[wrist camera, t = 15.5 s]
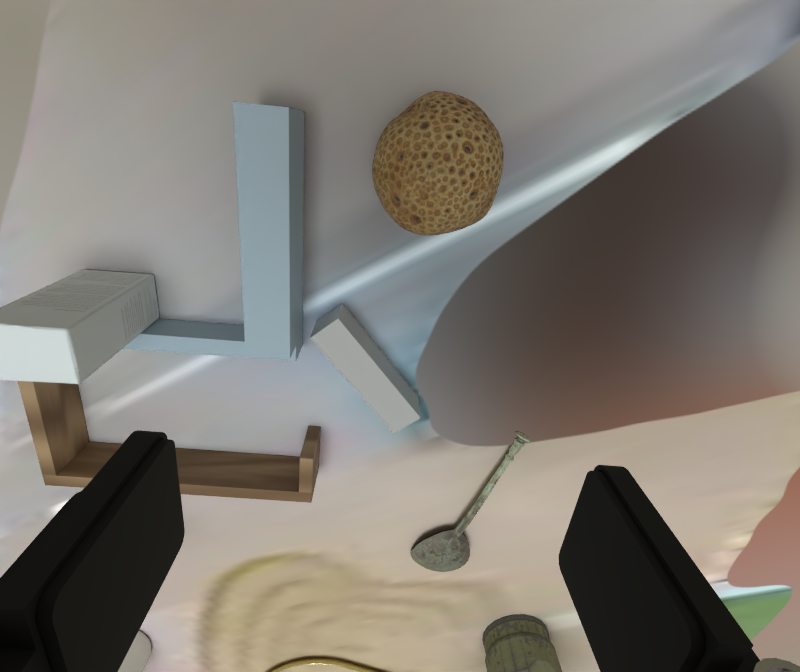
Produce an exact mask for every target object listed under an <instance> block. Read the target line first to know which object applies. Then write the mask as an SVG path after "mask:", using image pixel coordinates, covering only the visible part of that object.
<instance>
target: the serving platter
mask: <svg viewBox="0 0 800 672" xmlns="http://www.w3.org/2000/svg"><path fill="white" fill-rule="evenodd" d="M308 664H327V665H335V666H341V667H345V668H348V669H352V670H355V671H359V672H379V671H376V670H373V669H369V668H366V667H362V666H359V665H355V664H352V663H348V662H345V661H341V660H336V659H328V658H309V659H302V660H297V661H293V662H290V663H287V664H284V665H282V666H280V667H278V668H276V669H274V670H273V671H271V672H280V671H282V670H284V669H287V668H291V667H295V666H300V665H308Z"/></svg>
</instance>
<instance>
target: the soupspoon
mask: <svg viewBox="0 0 800 672" xmlns="http://www.w3.org/2000/svg"><path fill="white" fill-rule="evenodd" d="M515 433H516V435H517V438H515V439H514V443H513V444H512V446H511V447H510V449H509V453H508V454H506V455H505V459H504V460H503V462H502V463H501V465H500V466H499V468H498V469H497V471H496V472H495V473H494V475H493V476H492V478H491V479H490V481H489V482H488V484H487V485H486V487H485V488H484V489H483V491H482V492H481V494H480V496H479V497H478V499H477V500H476V502H475V503H474V505H473V506H472V507H471V509H470V510H469V511H468V513H467V514H466V515H465V517H464V518H463V519H462V521H461V522H460V523H459V524H458V526H457V527H456V528H455V529H454V530H449V531H444V532H441V533H438V534H435V535H433V536H431V537H429V538H427V539H425V540H423V541H422V542H420V543H418V544H417V545H416V546H415V548H414V549H413V550H412V551H411V556H412V558H413V560H414V561H415V562H417V563H418V564H419V565H421V566H423V567H425V568H427V569H430V570H433V571H439V572H447V571H453V570H456V569H458V568H460V567H462V566H463V565H465V564H466V562H467V561H468V559H469V556H470V549H469V545H468V542H467V540H466V538H465V537H464V535H463V534H462V533H463V532H464V530H465V529H466V527H467V526H468V525H469V524H470V522H471V521H472V519H473V518H474V516H475V515H476V514H477V512H478V510H479V509H480V508H481V506H482V505H483V503H484V501H485V500H486V498H487V497H488V495H489V493H490V492H491V490H492V489H493V487H494V485H495V484H496V482H497V481H498V479H499V478H500V476H501V475H502V473H503V472H504V470H505V469H506V467H507V465H508V464H509V462H510V461H513V460H514V455H515V454H517V453H518V451H519V450H520V449H521V447H522V446H524V441H529V442H530V441H531V440H530V438H529V437H527V436H526V435H524V434H523V433H521V432H519V431H515Z"/></svg>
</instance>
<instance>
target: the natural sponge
mask: <svg viewBox="0 0 800 672" xmlns="http://www.w3.org/2000/svg"><path fill="white" fill-rule="evenodd" d="M502 166H503V146H502V142H501V139H500V136H499V133H498V131H497V129H496V128H495V126H494V124H493V123H492V122H491V121H490V120H489V118H488V117H487V115H486V114H485V113H484V112H483V111H482V109H480V108H479V107H478V106H477V105H476V104H475V103H474V102H472V101H470V100H468V99H466V98H464V97H462V96H459V95H455V94H451V93H447V92H439V91H434V92H431V93H428V94H425V95H424V96H422V97H421V98H419V99H418V100H416V101H415V102H413V103H412V104H411V105H410V106H409V107H408V108H407V109H406V110H405V111H404V112H403V113H402V114H400V115H399V116H398V117H397V118H395V119H394V120H392V121H391V122H390V123H389V124H388V125H387V127H386V128H385V130H384V132H383V133H382V135H381V137H380V139H379V142H378V144H377V148H376V151H375V155H374V160H373V181H374V187H375V190H376V192H377V195H378V197H379V199H380V201H381V203H382V205H383V206H384V208H385V210H386V211H387V212H388V214H389V215H390V216H391V217H392V218H393V220H394V221H395V222H396V223H397V224H398V225H400V226H401V227H402V228H404V229H406V230H408V231H410V232H413V233H416V234H419V235H439V234H443V233H449V232H453V231H456V230H459V229H463V228H465V227H467V226H470V225H472V224H474V223H476V222H478V221H479V220H481V219H482V218H483V217H484V216H485V215H486V214H487V213H488V211H489V209H490V208H491V205H492V203H493V201H494V198H495V195H496V193H497V188H498V185H499V182H500V178H501V172H502Z"/></svg>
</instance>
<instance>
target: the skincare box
mask: <svg viewBox="0 0 800 672" xmlns="http://www.w3.org/2000/svg"><path fill="white" fill-rule="evenodd" d="M159 316H160V314H159V308H158V301H157V295H156V287H155V280H154V275H152V274H139V273H125V272H112V271H98V270H86V269H85V270H81V271H79V272H77V273H75V274H73V275H70V276H68V277H66V278H64V279H62V280H59V281H57V282H55V283H53V284H51V285H49V286H47V287H44V288H42V289H40V290H38V291H36V292H33V293H31V294H29V295H27V296H25V297H22V298H20V299H18V300H16V301H14V302H12V303H10V304H7V305H5V306H3V307H1V308H0V380H8V381H28V382H50V383H69V384H80V383H81V382H83V381H84V380H85V379H86V378H87V377H89V376H90V375H91V374H92V373H93V372H95V371H96V370H97V369H98V368H99V367H101V366H102V365H103V364H104V363H105V362H107V361H108V360H109V359H110V358H112V357H113V356H114V355H115V354H116V353H117V352H119V351H120V350H121V349H122V348H124V347H125V346H126V345H127V344H128V343H130V342H131V341H132V340H133V339H134V338H135V337H137V336H138V335H139V334H140V333H142V332H143V331H144V330H145V329H146V328H148V327H149V326H150V325H151V324H152V323H154V322H155V321H156V320H157V319H158V318H159Z"/></svg>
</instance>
